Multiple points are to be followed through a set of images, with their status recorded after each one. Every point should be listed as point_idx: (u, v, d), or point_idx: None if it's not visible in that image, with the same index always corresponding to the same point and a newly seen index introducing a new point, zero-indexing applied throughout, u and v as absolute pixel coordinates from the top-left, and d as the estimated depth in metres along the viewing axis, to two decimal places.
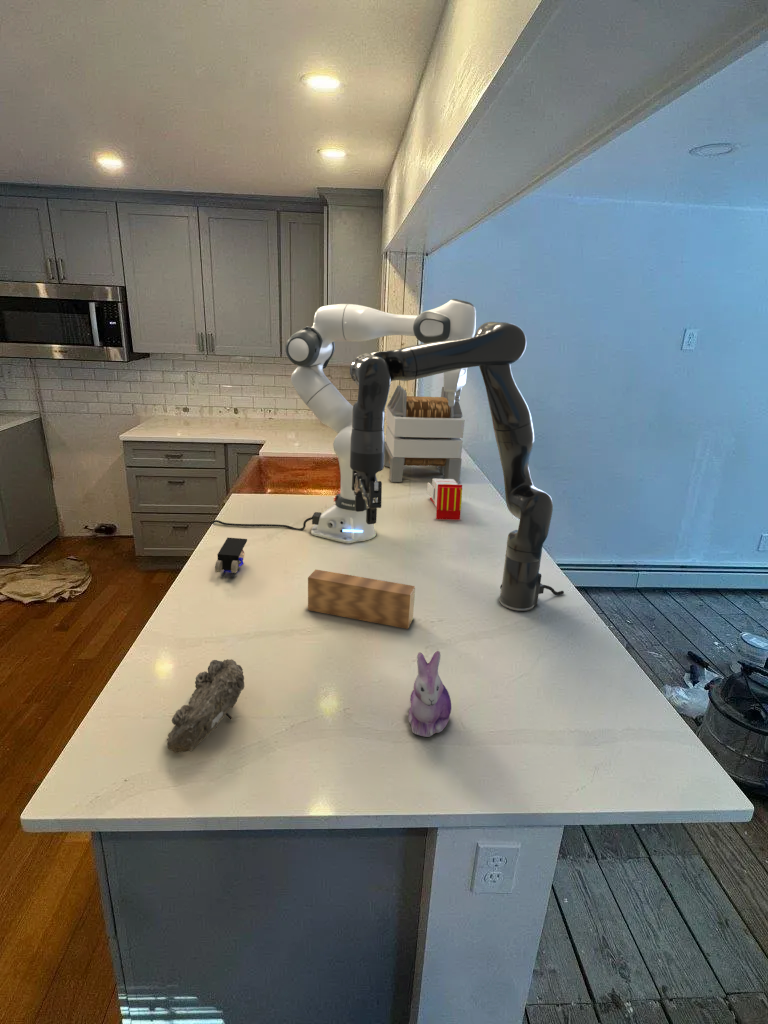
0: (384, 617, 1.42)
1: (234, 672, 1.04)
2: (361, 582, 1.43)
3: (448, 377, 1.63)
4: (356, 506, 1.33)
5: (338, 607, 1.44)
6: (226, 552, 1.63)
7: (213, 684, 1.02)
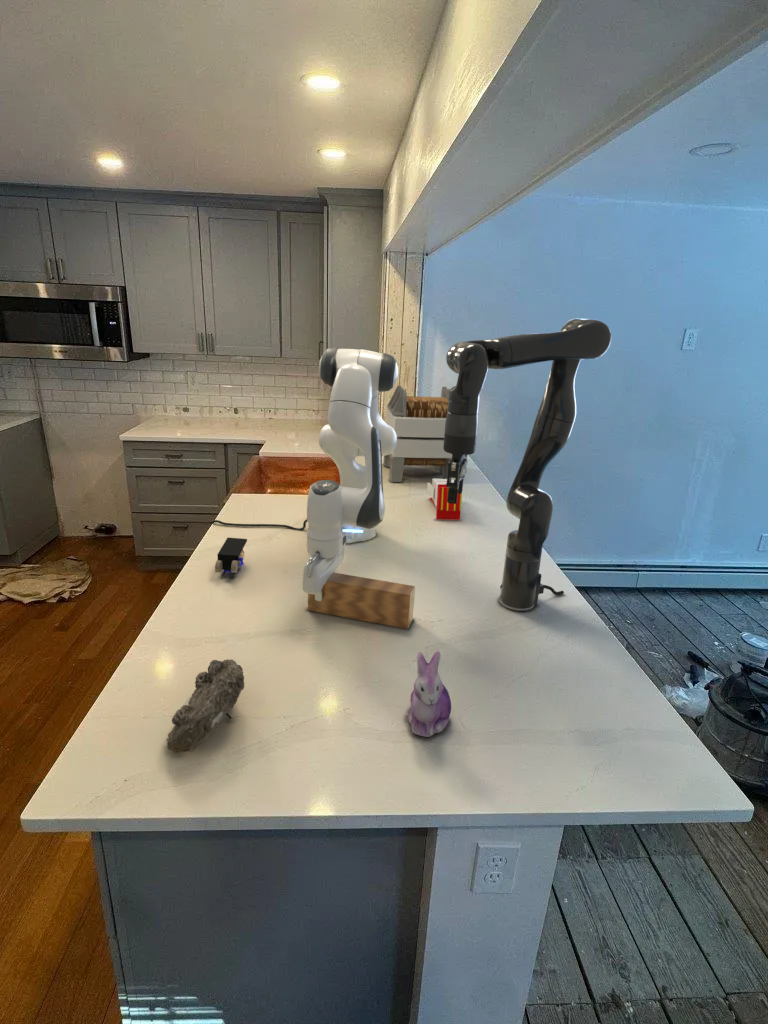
0: (384, 617, 1.42)
1: (234, 672, 1.04)
2: (361, 582, 1.43)
3: None
4: None
5: (338, 607, 1.44)
6: (226, 552, 1.63)
7: (213, 684, 1.02)
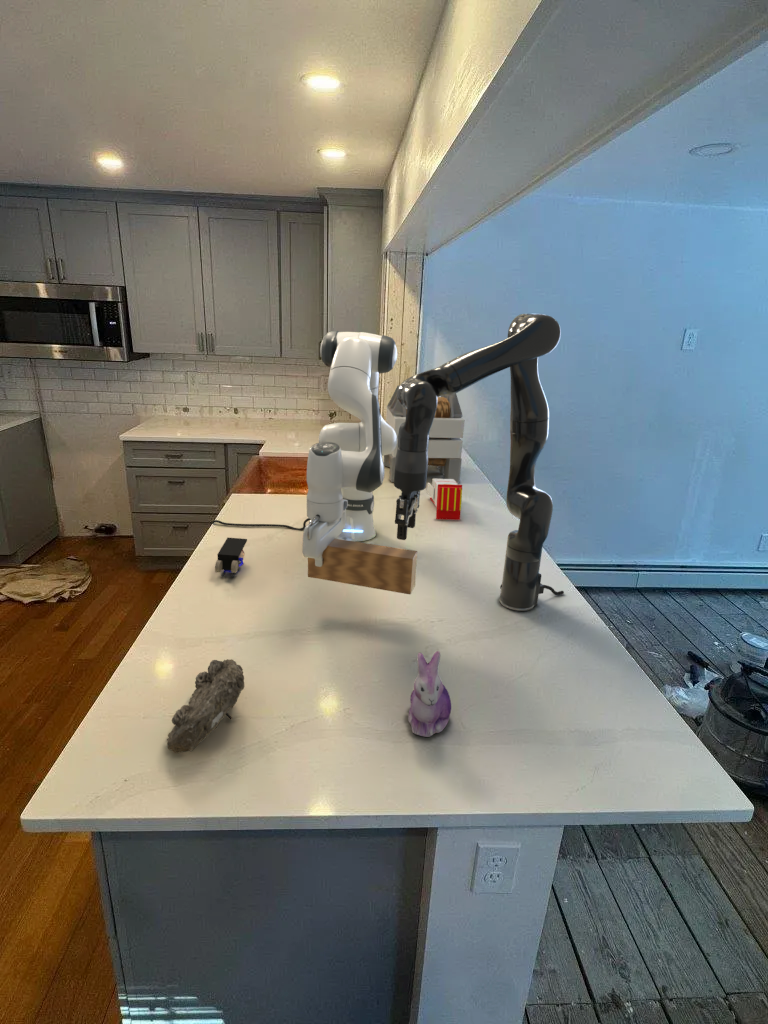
0: (386, 583, 1.38)
1: (234, 672, 1.04)
2: (362, 547, 1.40)
3: None
4: None
5: (339, 573, 1.41)
6: (226, 552, 1.63)
7: (213, 684, 1.02)
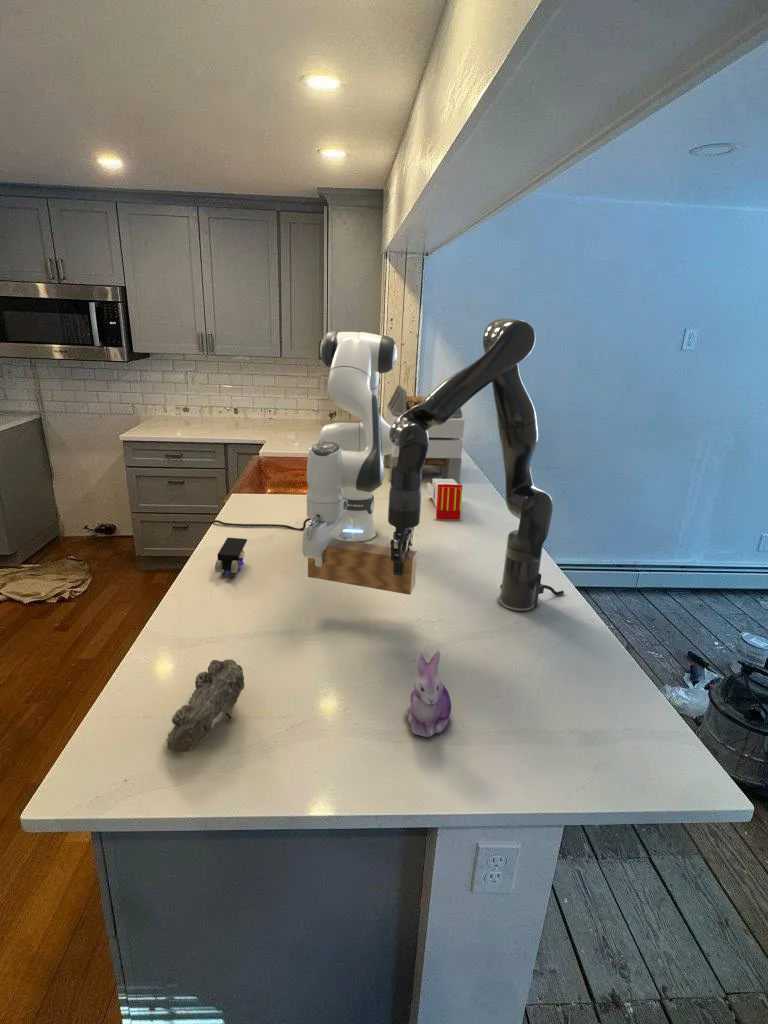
0: (386, 583, 1.38)
1: (234, 672, 1.04)
2: (362, 547, 1.39)
3: None
4: None
5: (339, 573, 1.41)
6: (226, 552, 1.63)
7: (213, 684, 1.02)
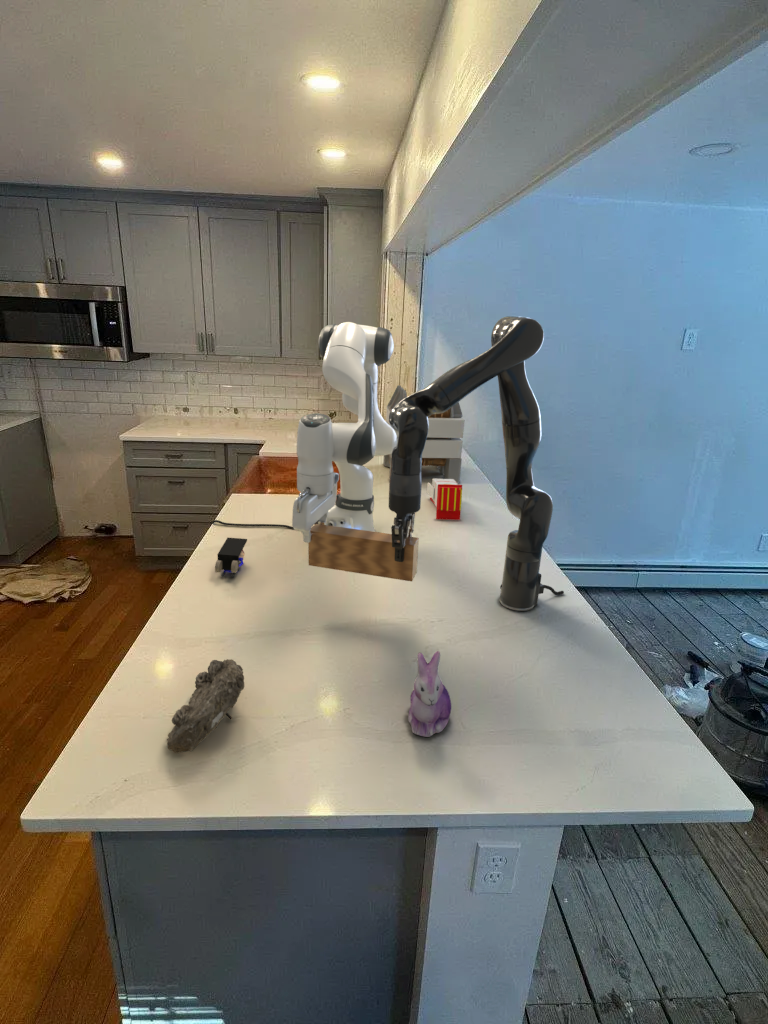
0: (387, 570, 1.37)
1: (234, 672, 1.04)
2: (363, 534, 1.38)
3: None
4: None
5: (340, 560, 1.40)
6: (226, 552, 1.63)
7: (213, 684, 1.02)
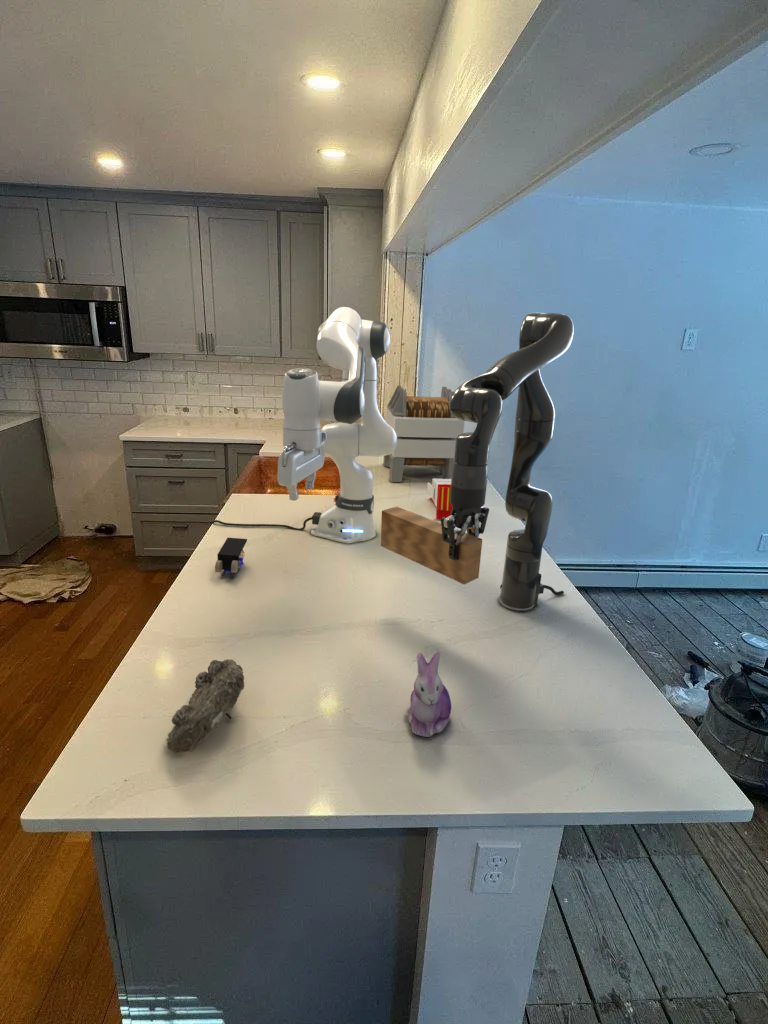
0: (443, 566, 1.27)
1: (234, 672, 1.04)
2: (428, 524, 1.31)
3: None
4: None
5: (405, 547, 1.35)
6: (226, 552, 1.63)
7: (213, 684, 1.02)
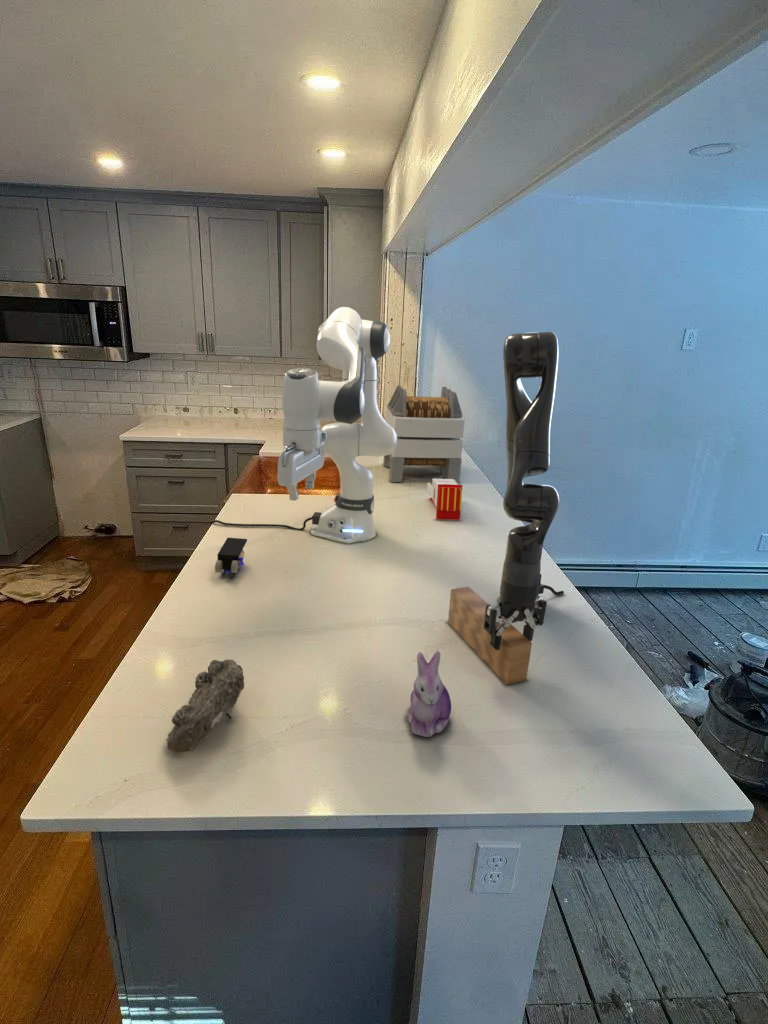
0: (492, 660, 1.26)
1: (234, 672, 1.04)
2: None
3: None
4: None
5: (465, 630, 1.36)
6: (226, 552, 1.63)
7: (213, 684, 1.02)
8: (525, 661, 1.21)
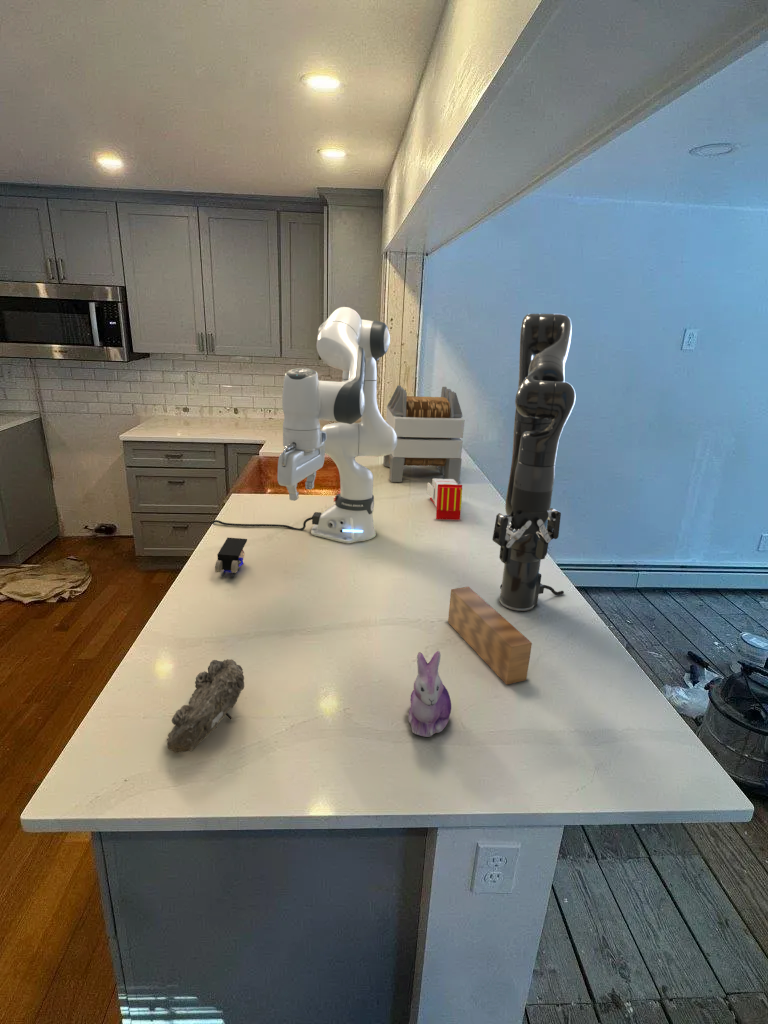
0: (492, 660, 1.26)
1: (234, 672, 1.04)
2: (487, 614, 1.30)
3: None
4: (537, 550, 1.18)
5: (465, 630, 1.36)
6: (226, 552, 1.63)
7: (213, 684, 1.02)
8: (525, 661, 1.21)
